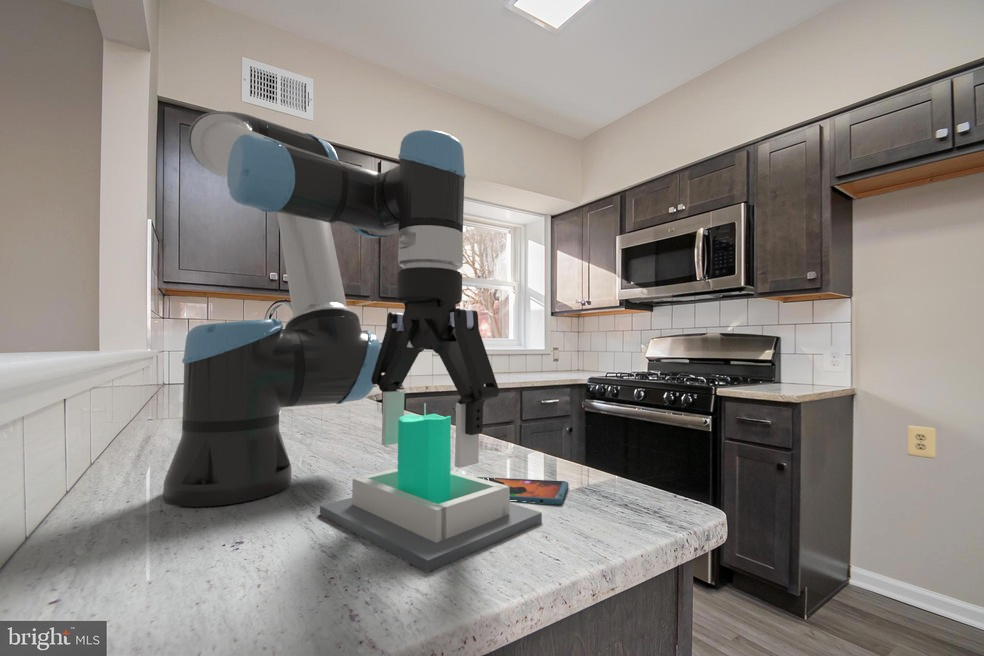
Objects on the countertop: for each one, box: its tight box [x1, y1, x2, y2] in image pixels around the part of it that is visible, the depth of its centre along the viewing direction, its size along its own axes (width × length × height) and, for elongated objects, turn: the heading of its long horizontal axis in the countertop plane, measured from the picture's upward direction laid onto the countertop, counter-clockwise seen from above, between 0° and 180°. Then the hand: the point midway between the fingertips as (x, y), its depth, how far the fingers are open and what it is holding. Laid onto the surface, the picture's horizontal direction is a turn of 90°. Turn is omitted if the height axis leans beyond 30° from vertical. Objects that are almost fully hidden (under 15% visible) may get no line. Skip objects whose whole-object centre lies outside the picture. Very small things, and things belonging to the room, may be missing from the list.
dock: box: [319, 467, 543, 573], centre depth 52 cm, size 20×16×4 cm
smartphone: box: [476, 476, 569, 506], centre depth 62 cm, size 8×1×15 cm
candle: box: [397, 403, 452, 504], centre depth 52 cm, size 6×6×12 cm
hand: (426, 453), depth 53 cm, fingers open, 13 cm apart
